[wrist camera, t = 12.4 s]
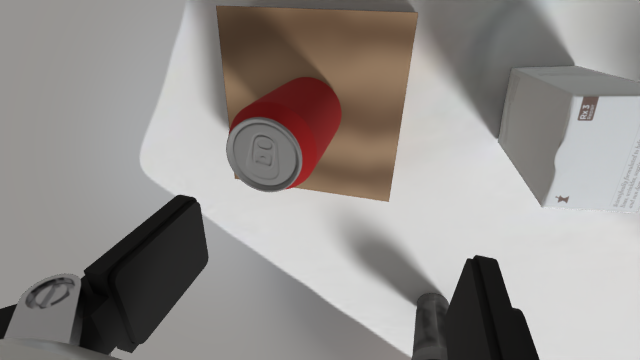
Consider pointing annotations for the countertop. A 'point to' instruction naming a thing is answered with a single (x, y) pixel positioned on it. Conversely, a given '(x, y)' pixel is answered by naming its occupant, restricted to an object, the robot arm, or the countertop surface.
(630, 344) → the countertop surface
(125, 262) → the robot arm
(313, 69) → the walnut block
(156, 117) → the countertop surface
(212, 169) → the countertop surface
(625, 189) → the skincare box
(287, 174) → the beverage can
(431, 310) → the beverage cup
